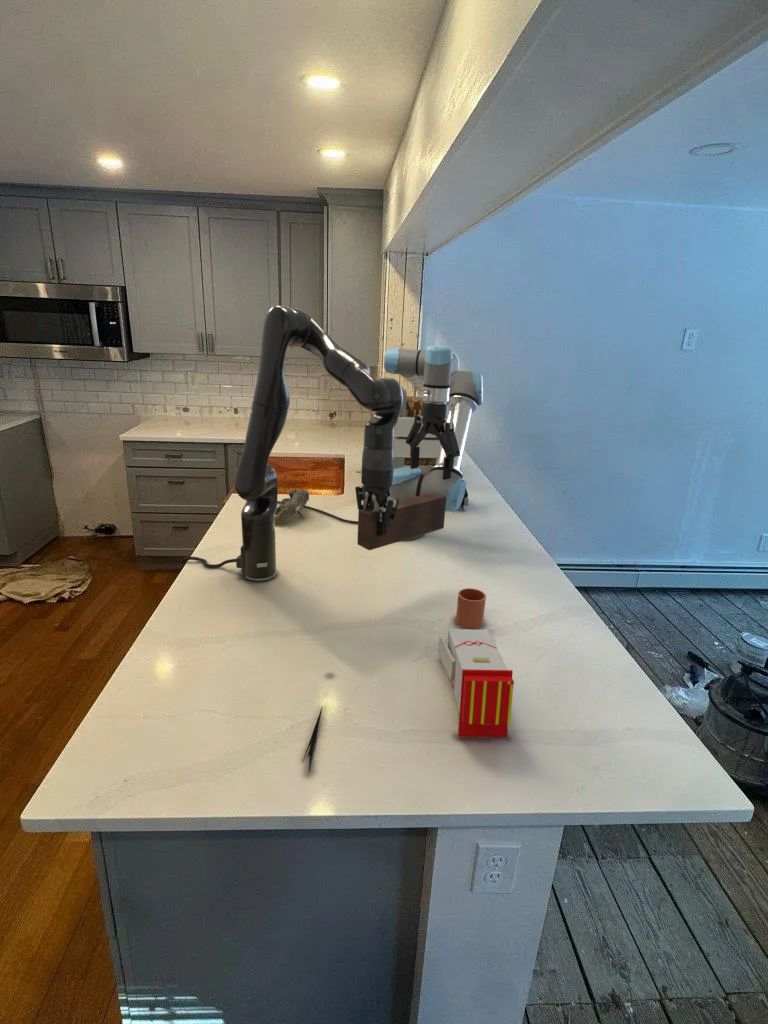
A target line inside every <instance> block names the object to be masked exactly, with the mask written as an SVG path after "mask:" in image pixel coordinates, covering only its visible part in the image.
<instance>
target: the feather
mask: <svg viewBox="0 0 768 1024" xmlns="http://www.w3.org/2000/svg"><path fill="white" fill-rule="evenodd" d="M329 675H330V676H331V675H332V674H331V673H330V674H329ZM322 710H323V707H321V708H320V710H319V713H318V716H317V719H316V723H315V725H314V728H313V731H312V733H311V737H310V739H309V742H308V745H307V748H306V751H305V754H304V757H303V760H302V763H301V767H302V765H303V763H304V761H305V758H308V759H309V760H308V762H307V763H308V764H307V766H308V771H310V770H311V766H312V765H311V764H312V760H313V757H315V756H314V755H315V751H316V749H315V746H317V739H318V733H319V729H320V722H321V717H322V712H323V711H322ZM313 754H314V755H313ZM306 755H307V757H306Z"/></svg>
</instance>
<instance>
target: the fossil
mask: <svg viewBox="0 0 768 1024" xmlns="http://www.w3.org/2000/svg"><path fill="white" fill-rule="evenodd" d="M288 496H289V497H287V498H286V497H285V498H282V499H281V503H282V504H280V505H277V509H276V512H275V525H278V526H279V525H282V524H284V523H287V522H288V521H289V520H291V519H292V518H294V516H296V515H297V514H298V515H299V516H300V517H301V518H302V517H303V515H302V513H301V512H300V511H301V510H302V508H304V506H307V503H308V502H309V500H310V494H309V492H308V490H305V488H300V489H299V490H298V489H296V488H295V489H290V490H289V492H288Z"/></svg>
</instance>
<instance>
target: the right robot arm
mask: <svg viewBox="0 0 768 1024" xmlns="http://www.w3.org/2000/svg"><path fill="white" fill-rule="evenodd" d="M383 368H384V371H385V373H386V374H391V375H399V376H400V377H402V378H404V379H405V380H406V381H407V382H408V383H410V384H411V386H412V388H413V389H414V390H415V392H417V394H419V395H420V396H422V397H423V400H424V402H423V403H422V415H417V416H415V419H414V424H413V426H412V428H411V430H410V433H409V435H408V437H407V439H406V444H409V445H410V447H411V449H410V457H411V466H404V467H401V468H396V469H394V471H393V484H392V485H391V487H390V494H391V497H392V498H393V499H398V500H403V499H407V498H411V497H416V496H420V495H424V494H428V493H433V492H435V493H438V494H441V495H443V496H446V508H445V512H448V513H449V512H450V513H455V512H457V511H458V510H459V509H460V508H461V507H460V505H461V503H462V500H463V497H464V494H465V489H466V490H467V481H466V479H464V474H463V472H462V470H461V471H460V466H461V467H462V461H463V456H464V451H465V446H466V442H467V436H468V431H469V426H470V422H471V417H472V414H473V413H475V412H476V411H477V409H478V407H479V406H483V401H484V379H483V378H484V376H483V374H482V373H481V372H479V371H472V370H469V371H468V370H459V368H460V359H459V356H458V355H457V354H456V353H455V352H453V349H452V347H450V346H445V345H429V346H426V348H425V349H409V348H399V347H396V348H395V347H392V348H391V347H390V348H388V349H386V350H385V353H384V356H383ZM445 418H446V419H445ZM422 423H423V426H422V427H421V425H422ZM420 428H421V429H420ZM419 430H420V431H419ZM418 432H419V433H418ZM441 432H442V433H441ZM427 434H432V435H436V437H437V438H438V439H439V441H440V446H439V451H438V456H437V460H436V465H435V466H431V467H430V469H429V472H428V473H427V474H426V473H422V469H421V468H419V467H420V466H419V452H420V447H417V446H419V443H420V442H421V441H422V440H423V438H424V437H425V436H426V435H427ZM281 502H282V500H281V501H280V500H277V504H280V505H281V504H282V503H281ZM303 508H304V509H308V510H311V511H315V512H318V513H321V514H324V515H325V516H329V517H330V518H331V517H332V518H334V519H335V520H338V521H341V522H345V523H350V524H357V525H358V520H350V519H345V518H342V517H339V516H337V515H335V514H332V513H330V512H328V511H327V512H326V511H324V510H322V509H319V508H315V507H312V506H308V505H305V506H304V507H303ZM421 536H422V535H419V536H416V537H413V538H409V539H406V540H405V541H410V540H415V539H418V538H420V537H421Z"/></svg>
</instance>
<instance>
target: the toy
mask: <svg viewBox="0 0 768 1024" xmlns="http://www.w3.org/2000/svg"><path fill="white" fill-rule="evenodd" d="M446 640H447V643H446V641H445V639H444V636H443V635H442V634H439V637H438V646H437V656H438V657H439V659H440V661H441V663H442V666H443V668H444V670H445V672H446V674H447V677H448V679H449V681H450V684H451V687H452V690H453V693H454V697H455V701H456V705H457V708H458V711H459V714H458V715H459V716H458V730H457V731H458V732H457V737H458V738H508V731H509V726H510V725H511V717H512V707H513V697H514V696H513V695H514V684H515V680H514V679H513V673H514V671H513V670H512V669H508V667H507V665H506V662H505V661H504V659H503V658H502V655H501V653H500V651H499V649H498V647H497V643H496V639H495V637H494V635H493V634H491V632H490V631H489V629H465V628H460V629H459V628H448V630H447V639H446Z"/></svg>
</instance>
